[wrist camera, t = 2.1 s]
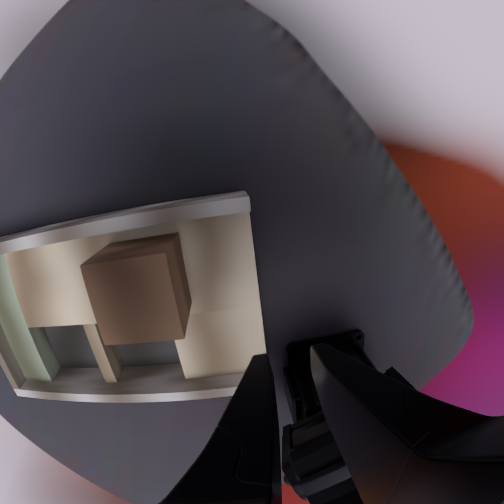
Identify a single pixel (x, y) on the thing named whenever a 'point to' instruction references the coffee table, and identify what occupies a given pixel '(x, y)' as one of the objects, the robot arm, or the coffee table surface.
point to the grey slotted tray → (139, 354)
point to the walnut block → (139, 290)
